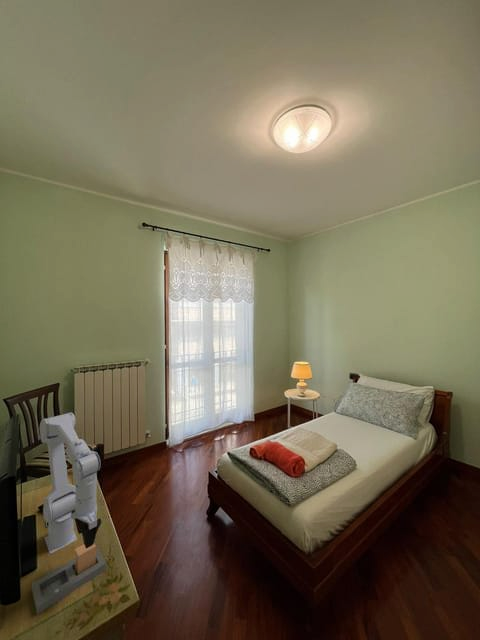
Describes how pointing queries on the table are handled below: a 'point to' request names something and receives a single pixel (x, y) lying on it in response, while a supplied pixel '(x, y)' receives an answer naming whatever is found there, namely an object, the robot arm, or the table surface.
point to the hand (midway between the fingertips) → (85, 538)
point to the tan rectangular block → (84, 558)
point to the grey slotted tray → (63, 582)
